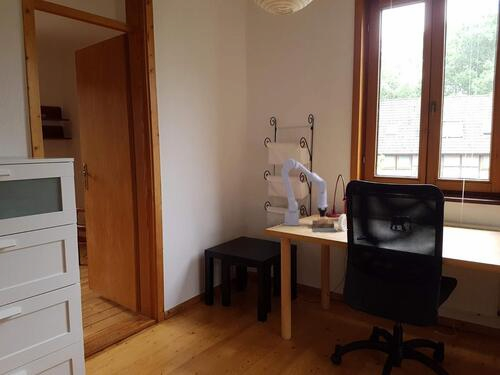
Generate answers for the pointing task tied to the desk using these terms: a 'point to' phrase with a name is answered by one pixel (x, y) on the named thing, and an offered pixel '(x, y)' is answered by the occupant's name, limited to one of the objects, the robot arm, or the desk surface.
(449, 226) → the desk surface
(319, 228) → the mat
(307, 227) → the desk surface
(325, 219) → the tile
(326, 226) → the deck
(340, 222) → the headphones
